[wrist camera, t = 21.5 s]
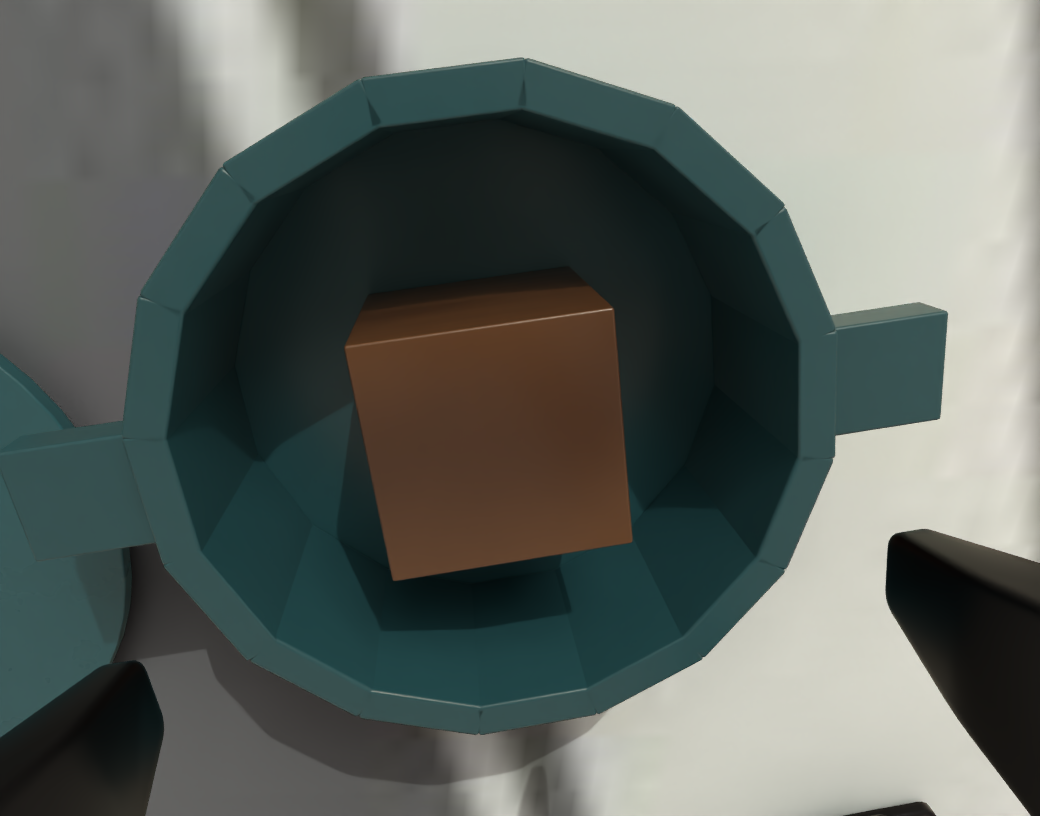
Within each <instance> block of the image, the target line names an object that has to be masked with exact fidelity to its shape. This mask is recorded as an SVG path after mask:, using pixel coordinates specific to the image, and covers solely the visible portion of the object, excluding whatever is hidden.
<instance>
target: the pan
mask: <svg viewBox="0 0 1040 816" xmlns="http://www.w3.org/2000/svg"><path fill="white" fill-rule="evenodd" d="M567 266H568V267H570V268H571V269H573V270H574V271H575V272H576V273H577V274H578V275H579V276H580V277H581V278H582V279H583V280H584V281H585V282H586V283H587V284H589V285H590V286H591V287H592V288H593V289H594V290H595V291H596V292H597V293H598V294H599V295H600V296H601V297H602V298H603V299H605V300H606V301H607V302H608V303H609V304H610V305H611V306H612V307H613V308H614V312H615V325H616V337H617V350H618V362H619V375H620V387H621V400H622V412H623V425H624V437H625V450H626V462H627V475H628V487H629V500H630V512H631V525H632V537H633V540H632V543H628V544H622V545H615V546H609V547H603V548H597V549H591V550H585V551H578V552H572V553H566V554H560V555H554V556H548V557H541V558H535V559H529V560H523V561H517V562H511V563H504V564H498V565H492V566H486V567H480V568H474V569H467V570H461V571H455V572H449V573H443V574H436V575H430V576H424V577H418V578H412V579H406V580H399V581H393V579H392V576H391V571H390V567H389V562H388V557H387V552H386V547H385V543H384V538H383V533H382V528H381V524H380V519H379V514H378V509H377V504H376V500H375V495H374V490H373V485H372V481H371V476H370V471H369V466H368V461H367V457H366V452H365V447H364V442H363V438H362V433H361V428H360V423H359V418H358V414H357V409H356V404H355V399H354V395H353V390H352V385H351V380H350V375H349V371H348V366H347V361H346V356H345V352H344V346H345V344H346V342H347V340H348V337H349V335H350V333H351V331H352V329H353V326H354V324H355V322H356V320H357V318H358V315H359V313H360V311H361V309H362V307H363V304H364V302H365V300H366V298H367V296H368V295H369V294H374V293H381V292H388V291H396V290H403V289H410V288H417V287H424V286H431V285H438V284H445V283H453V282H460V281H467V280H474V279H481V278H488V277H495V276H502V275H510V274H517V273H524V272H531V271H538V270H545V269H552V268H559V267H567ZM140 295H141V296H139V297H138V299H137V307H136V315H135V323H134V332H133V340H132V349H131V357H130V365H129V374H128V382H127V390H126V399H125V407H124V415H123V421H117V422H111V423H104V424H97V425H91V426H84V427H77V428H70V429H64V430H57V431H50V432H43V433H37V434H30V435H23V436H20V437H18V438H17V439H15V440H14V441H13V442H11V443H10V444H8V445H7V446H5V447H4V448H3V449H1V450H0V472H1V474H2V477H3V480H4V482H5V485H6V487H7V490H8V492H9V495H10V497H11V500H12V502H13V505H14V507H15V510H16V512H17V515H18V517H19V520H20V522H21V525H22V527H23V530H24V532H25V535H26V537H27V540H28V543H29V545H30V548H31V550H32V553H33V555H34V558H35V560H36V561H45V560H51V559H57V558H64V557H70V556H76V555H83V554H89V553H95V552H102V551H108V550H114V549H121V548H127V547H133V546H140V545H146V544H152V543H156V545H157V548H158V551H159V554H160V558H161V561H162V563H163V564H164V568H165V569H166V570H167V571H168V572H169V574H170V575H171V576H172V577H173V578H174V579H175V580H176V581H177V583H178V584H179V585H180V586H181V587H182V588H183V589H184V590H185V592H186V593H187V594H188V595H189V596H190V597H191V598H192V599H193V601H194V602H195V603H196V604H197V605H198V606H199V607H200V608H201V610H202V611H203V612H204V613H205V614H206V615H207V616H208V617H209V619H210V620H211V621H212V622H213V623H214V624H215V625H216V626H217V628H218V629H219V630H220V631H221V632H222V633H223V634H224V635H225V637H226V638H227V639H228V640H229V641H230V642H231V643H232V644H233V646H234V647H235V648H236V649H237V650H238V651H239V652H240V653H241V655H242V656H243V657H244V658H245V659H246V660H247V661H248V660H250V661H251V662H252V663H254V664H255V665H257V666H259V667H261V668H263V669H265V670H267V671H269V672H271V673H273V674H275V675H277V676H279V677H281V678H283V679H284V680H286V681H288V682H290V683H292V684H294V685H296V686H298V687H300V688H302V689H304V690H306V691H308V692H310V693H312V694H313V695H315V696H317V697H319V698H321V699H323V700H325V701H327V702H329V703H331V704H333V705H335V706H337V707H339V708H341V709H342V710H344V711H346V712H348V713H350V714H352V715H354V716H360V718H362V719H368V720H375V721H382V722H389V723H396V724H403V725H410V726H417V727H424V728H431V729H438V730H445V731H452V732H459V733H466V734H473V735H477V734H478V733H479V734H480V735H484V734H490V733H496V732H501V731H507V730H513V729H518V728H524V727H530V726H536V725H541V724H547V723H553V722H558V721H564V720H570V719H575V718H581V717H587V716H592V715H595V714H596V713H597V714H600V713H602V712H604V711H606V710H608V709H610V708H612V707H613V706H615V705H617V704H619V703H621V702H623V701H625V700H627V699H629V698H630V697H632V696H634V695H636V694H638V693H640V692H642V691H644V690H646V689H647V688H649V687H651V686H653V685H655V684H657V683H659V682H661V681H663V680H664V679H666V678H668V677H670V676H672V675H674V674H676V673H678V672H679V671H681V670H683V669H685V668H687V667H689V666H691V665H693V664H695V663H696V662H698V661H700V660H702V657H705V656H706V655H707V654H708V653H709V652H710V651H711V650H712V649H713V648H714V647H715V646H716V645H717V643H718V642H719V641H720V640H721V639H722V638H723V637H724V636H725V635H726V634H727V633H728V632H729V631H730V630H731V629H732V628H733V627H734V626H735V624H736V623H737V622H738V621H739V620H740V619H741V618H742V617H743V616H744V615H745V614H746V613H747V612H748V611H749V610H750V609H751V608H752V607H753V605H754V604H755V603H756V602H757V601H758V600H759V599H760V598H761V597H762V596H763V595H764V594H765V593H766V592H767V591H768V590H769V589H770V588H771V586H772V585H773V584H774V583H775V582H776V581H777V580H778V579H779V578H780V577H781V576H782V575H783V574H784V572H785V571H784V569H786V568H787V567H788V565H789V562H790V560H791V558H792V556H793V553H794V551H795V549H796V546H797V544H798V542H799V539H800V537H801V535H802V532H803V530H804V528H805V525H806V523H807V521H808V518H809V516H810V514H811V511H812V509H813V507H814V504H815V502H816V500H817V498H818V495H819V493H820V491H821V488H822V486H823V484H824V481H825V479H826V477H827V474H828V472H829V470H830V467H831V465H832V463H833V458H834V457H835V436H836V435H843V434H849V433H855V432H862V431H868V430H874V429H881V428H887V427H893V426H900V425H906V424H912V423H919V422H925V421H931V420H938V419H940V414H941V401H942V387H943V374H944V360H945V346H946V333H947V319H948V313H947V311H944V310H941V309H938V308H935V307H932V306H929V305H926V304H923V303H920V302H918V303H911V304H904V305H898V306H891V307H884V308H877V309H871V310H864V311H857V312H850V313H844V314H837V315H830V312H829V310H828V308H827V305H826V303H825V300H824V298H823V296H822V293H821V291H820V288H819V286H818V284H817V281H816V279H815V276H814V274H813V272H812V269H811V267H810V264H809V262H808V260H807V257H806V255H805V252H804V250H803V248H802V245H801V243H800V240H799V238H798V236H797V233H796V231H795V228H794V226H793V224H792V221H791V219H790V216H789V214H788V212H787V209H786V208H785V207H784V203H783V202H782V201H781V200H780V199H779V198H778V197H777V196H775V195H774V194H773V193H772V192H771V191H770V190H769V189H768V188H767V187H766V186H765V185H763V184H762V183H761V182H760V181H759V180H758V179H757V178H756V177H755V176H754V175H753V174H751V173H750V172H749V171H748V170H747V169H746V168H745V167H744V166H743V165H742V164H741V163H739V162H738V161H737V160H736V159H735V158H734V157H733V156H732V155H731V154H730V153H729V152H727V151H726V150H725V149H724V148H723V147H722V146H721V145H720V144H719V143H718V142H717V141H715V140H714V139H713V138H712V137H711V136H710V135H709V134H708V133H707V132H706V131H705V130H703V129H702V128H701V127H700V126H699V125H698V124H697V123H696V122H695V121H694V120H693V119H691V118H690V117H689V116H688V115H687V114H686V113H685V112H684V111H683V110H682V109H681V108H679V107H675V105H674V104H672V103H669V102H665V101H662V100H659V99H656V98H653V97H650V96H646V95H643V94H640V93H637V92H634V91H631V90H628V89H624V88H621V87H618V86H615V85H612V84H609V83H605V82H602V81H599V80H596V79H593V78H590V77H586V76H583V75H580V74H577V73H574V72H571V71H567V70H564V69H561V68H558V67H555V66H552V65H548V64H545V63H542V62H539V61H536V60H533V59H529V58H527V59H524V58H522V57H521V58H513V59H505V60H497V61H489V62H481V63H473V64H465V65H458V66H450V67H442V68H434V69H426V70H418V71H410V72H402V73H394V74H386V75H378V76H370V77H363V78H362V79H361V80H360V79H359V80H356V81H354V82H353V83H351V84H349V85H348V86H346V87H345V88H343V89H341V90H340V91H338V92H337V93H335V94H333V95H332V96H330V97H329V98H327V99H325V100H324V101H322V102H321V103H319V104H317V105H316V106H314V107H313V108H311V109H309V110H308V111H306V112H305V113H303V114H301V115H300V116H298V117H297V118H295V119H293V120H292V121H290V122H289V123H287V124H285V125H284V126H282V127H281V128H279V129H277V130H276V131H274V132H273V133H271V134H269V135H268V136H266V137H265V138H263V139H261V140H260V141H258V142H257V143H255V144H253V145H252V146H250V147H249V148H247V149H245V150H244V151H242V152H241V153H239V154H237V155H236V156H234V157H233V158H231V159H229V160H228V161H226V162H225V163H224V164H223V167H221V168H220V169H219V170H218V171H217V173H216V174H215V176H214V177H213V179H212V181H211V182H210V184H209V185H208V187H207V188H206V190H205V191H204V193H203V195H202V196H201V198H200V199H199V201H198V202H197V204H196V206H195V207H194V209H193V210H192V212H191V213H190V215H189V216H188V218H187V220H186V221H185V223H184V224H183V226H182V227H181V229H180V231H179V232H178V234H177V235H176V237H175V238H174V240H173V241H172V243H171V245H170V246H169V248H168V249H167V251H166V252H165V254H164V256H163V257H162V259H161V260H160V262H159V263H158V265H157V267H156V268H155V270H154V271H153V273H152V274H151V276H150V277H149V279H148V281H147V282H146V284H145V285H144V287H143V288H142V290H141V294H140Z"/></svg>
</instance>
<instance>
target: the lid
mask: <svg viewBox="0 0 1040 816" xmlns="http://www.w3.org/2000/svg"><path fill="white" fill-rule="evenodd" d="M70 428H75V427H74V425H73V424H72V423H71V422H70V420H69V419H68V418H67V416H66V415H65V414H64V412H63V411H62V410H61V409H60V408H59V407H58V406H57V405H56V404H55V403H54V402H53V401H52V400H51V399H50V398H49V396H48V395H47V394H46V393H45V392H44V391H43V390H42V389H41V388H40V387H39V386H38V385H37V384H36V383H35V382H34V381H33V380H32V379H31V378H30V377H28V376H27V375H26V374H25V373H24V372H22V371H21V370H20V369H19V368H18V367H16V366H15V365H14V364H13V363H11V362H10V361H9V360H8V359H7V358H5V357H4V356H3V355H2V354H1V353H0V450H1V449H3V448H4V447H5V446H7V445H8V444H10V443H11V442H13V441H14V440H15V439H17V438H18V437H20V436H23V435H30V434H37V433H43V432H50V431H57V430H64V429H70ZM131 586H132V569H131V560H130V550H129V547H127V548H121V549H114V550H108V551H102V552H95V553H89V554H83V555H76V556H70V557H64V558H57V559H51V560H45V561H36V560H35V558H34V555H33V553H32V550H31V548H30V545H29V543H28V540H27V537H26V535H25V532H24V530H23V527H22V525H21V522H20V520H19V517H18V515H17V512H16V510H15V507H14V505H13V502H12V500H11V497H10V495H9V492H8V490H7V487H6V485H5V482H4V480H3V477H2V474H1V472H0V737H2V736H3V735H5V734H6V733H7V732H9V731H10V730H12V729H13V728H14V727H16V726H17V725H19V724H20V723H21V722H23V721H24V720H26V719H27V718H28V717H30V716H31V715H33V714H34V713H35V712H37V711H38V710H40V709H41V708H42V707H44V706H45V705H47V704H48V703H49V702H51V701H52V700H54V699H55V698H56V697H58V696H59V695H61V694H62V693H63V692H65V691H66V690H68V689H69V688H70V687H72V686H73V685H75V684H76V683H77V682H79V681H80V680H82V679H83V678H84V677H86V676H87V675H89V674H90V673H91V672H93V671H94V670H96V669H97V668H99V667H100V666H103V665H107V664H112V663H113V661H114V658H115V656H116V653H117V651H118V648H119V646H120V643H121V641H122V638H123V636H124V633H125V628H126V624H127V619H128V614H129V610H130V605H131Z"/></svg>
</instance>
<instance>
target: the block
mask: <svg viewBox="0 0 1040 816" xmlns="http://www.w3.org/2000/svg"><path fill="white" fill-rule="evenodd" d="M344 352H345V356H346V361H347V366H348V371H349V375H350V380H351V385H352V390H353V395H354V399H355V404H356V409H357V414H358V418H359V423H360V428H361V433H362V438H363V442H364V447H365V452H366V457H367V461H368V466H369V471H370V476H371V481H372V485H373V490H374V495H375V500H376V504H377V509H378V514H379V519H380V524H381V528H382V533H383V538H384V543H385V547H386V552H387V557H388V562H389V567H390V571H391V576H392V579H393V581H399V580H406V579H412V578H418V577H424V576H430V575H436V574H443V573H449V572H455V571H461V570H467V569H474V568H480V567H486V566H492V565H498V564H504V563H511V562H517V561H523V560H529V559H535V558H541V557H548V556H554V555H560V554H566V553H572V552H578V551H585V550H591V549H597V548H603V547H609V546H615V545H622V544H628V543H632V540H633V537H632V525H631V512H630V500H629V487H628V475H627V462H626V450H625V437H624V425H623V412H622V400H621V387H620V375H619V362H618V350H617V337H616V325H615V312H614V308H613V307H612V306H611V305H610V304H609V303H608V302H607V301H606V300H605V299H603V298H602V297H601V296H600V295H599V294H598V293H597V292H596V291H595V290H594V289H593V288H592V287H591V286H590V285H589V284H587V283H586V282H585V281H584V280H583V279H582V278H581V277H580V276H579V275H578V274H577V273H576V272H575V271H574V270H573V269H571V268H570V267H568V266H567V267H559V268H552V269H545V270H538V271H531V272H524V273H517V274H510V275H502V276H495V277H488V278H481V279H474V280H467V281H460V282H453V283H445V284H438V285H431V286H424V287H417V288H410V289H403V290H396V291H388V292H381V293H374V294H369V295H368V296H367V298H366V300H365V302H364V304H363V307H362V309H361V311H360V313H359V315H358V318H357V320H356V322H355V324H354V326H353V329H352V331H351V333H350V335H349V337H348V340H347V342H346V344H345V346H344Z"/></svg>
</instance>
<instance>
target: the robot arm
mask: <svg viewBox="0 0 1040 816" xmlns="http://www.w3.org/2000/svg"><path fill="white" fill-rule="evenodd" d="M885 590H886V599H887V603H888V606H889V608H890V610H891V612H892V614H893V616H894V617H895V619H896V621H897V622H898V624H899V626H900V627H901V629H902V630H903V632H904V634H905V635H906V637H907V639H908V640H909V642H910V643H911V645H912V647H913V648H914V650H915V652H916V653H917V655H918V656H919V658H920V660H921V661H922V663H923V665H924V666H925V668H926V669H927V671H928V673H929V674H930V676H931V678H932V679H933V681H934V682H935V684H936V686H937V687H938V689H939V691H940V692H941V694H942V695H943V697H944V699H945V700H946V702H947V703H948V705H949V706H950V708H951V709H952V711H953V712H954V714H955V716H956V717H957V719H958V720H959V721H960V723H961V724H962V725H963V727H964V728H965V729H966V731H967V732H968V734H969V735H970V736H971V738H972V739H973V740H974V742H975V743H976V744H977V746H978V747H979V748H980V750H981V751H982V752H983V753H984V755H985V756H986V757H987V759H988V760H989V761H990V763H991V764H992V765H993V767H994V768H995V769H996V770H997V772H998V773H999V774H1000V776H1001V777H1002V778H1003V780H1004V781H1005V782H1006V784H1007V785H1008V786H1009V788H1010V789H1011V790H1012V791H1013V793H1014V794H1015V795H1016V797H1017V798H1018V799H1019V801H1020V802H1021V803H1022V805H1023V806H1024V807H1025V809H1026V810H1027V811H1028V812H1029V814H1030V815H1031V816H1040V563H1038V562H1034V561H1031V560H1028V559H1025V558H1021V557H1018V556H1015V555H1011V554H1008V553H1005V552H1001V551H998V550H995V549H992V548H988V547H985V546H982V545H978V544H975V543H972V542H969V541H965V540H962V539H959V538H955V537H952V536H949V535H946V534H942V533H939V532H936V531H932V530H929V529H919V530H913V531H907V532H901V533H896V534H894V535H893V536H892V537H891V538H890V540H889V543H888V552H887V570H886V589H885ZM163 735H164V721H163V716H162V712H161V710H160V707H159V704H158V701H157V699H156V696H155V693H154V690H153V688H152V685H151V682H150V679H149V676H148V674H147V671H146V669H145V667H144V666H143V665H142V663H140V662H138V661H136V660H132V661H125V662H119V663H113V664H107V665H103V666H100V667H99V668H97V669H96V670H94V671H93V672H91V673H90V674H89V675H87V676H86V677H84V678H83V679H82V680H80V681H79V682H77V683H76V684H75V685H73V686H72V687H70V688H69V689H68V690H66V691H65V692H63V693H62V694H61V695H59V696H58V697H56V698H55V699H54V700H52V701H51V702H49V703H48V704H47V705H45V706H44V707H42V708H41V709H40V710H38V711H37V712H35V713H34V714H33V715H31V716H30V717H28V718H27V719H26V720H24V721H23V722H21V723H20V724H19V725H17V726H16V727H14V728H13V729H12V730H10V731H9V732H7V733H6V734H5V735H3V736H2V737H0V816H145V814H146V810H147V806H148V801H149V797H150V793H151V788H152V784H153V780H154V775H155V771H156V767H157V762H158V758H159V753H160V749H161V745H162V740H163ZM845 816H936V815H935V814H934V812H933V811H932V810H931V808H930V807H929V806H928V805H927V803H924V802H915V803H909V804H904V805H899V806H893V807H888V808H883V809H877V810H872V811H866V812H861V813H856V814H850V815H845Z"/></svg>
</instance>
